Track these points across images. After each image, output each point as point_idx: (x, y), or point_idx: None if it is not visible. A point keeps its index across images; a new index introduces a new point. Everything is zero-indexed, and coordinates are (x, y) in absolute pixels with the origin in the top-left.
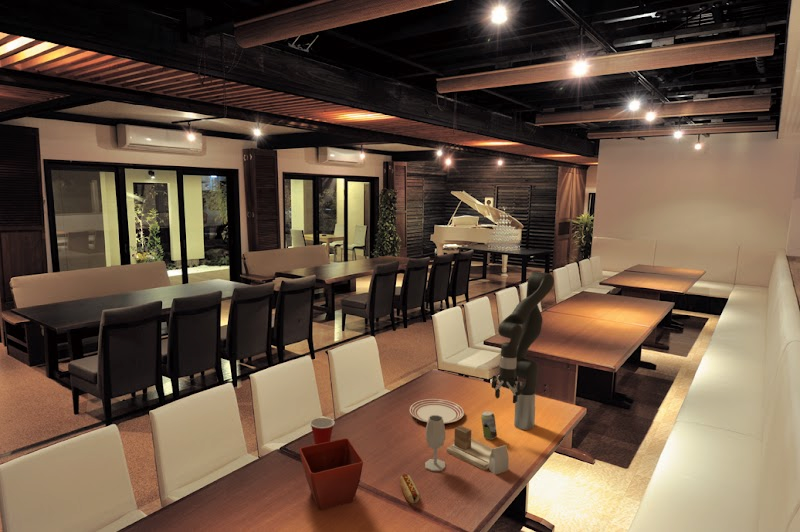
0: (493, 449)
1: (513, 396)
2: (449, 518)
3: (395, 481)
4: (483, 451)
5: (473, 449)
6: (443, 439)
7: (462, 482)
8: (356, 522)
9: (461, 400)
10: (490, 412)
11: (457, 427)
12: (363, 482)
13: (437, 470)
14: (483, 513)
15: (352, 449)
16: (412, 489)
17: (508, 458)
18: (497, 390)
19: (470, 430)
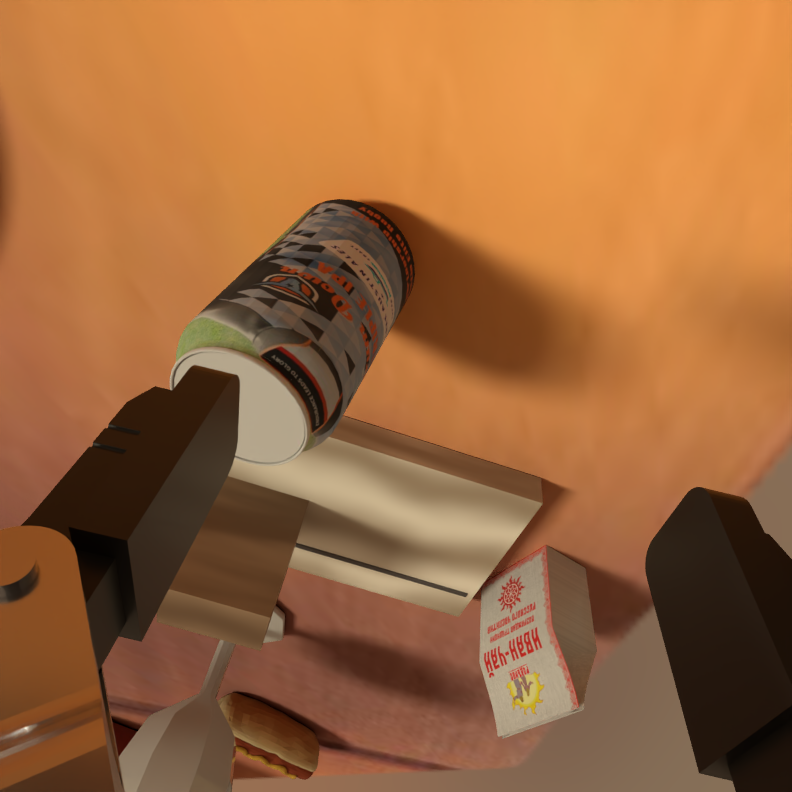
0: (506, 735)
1: (702, 741)
2: (434, 758)
3: (189, 684)
4: (402, 519)
5: (335, 515)
6: (228, 790)
7: (399, 659)
8: (237, 774)
9: None
10: (261, 386)
11: (164, 611)
12: (117, 697)
13: (271, 640)
14: (527, 742)
15: None
16: (287, 772)
17: (594, 640)
18: (117, 624)
19: (268, 622)
